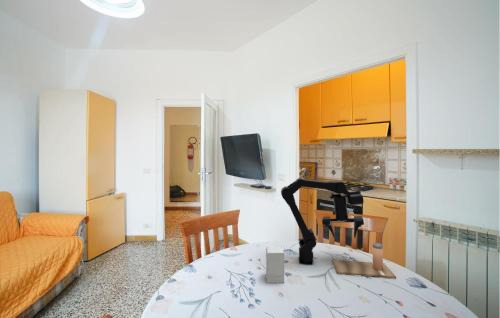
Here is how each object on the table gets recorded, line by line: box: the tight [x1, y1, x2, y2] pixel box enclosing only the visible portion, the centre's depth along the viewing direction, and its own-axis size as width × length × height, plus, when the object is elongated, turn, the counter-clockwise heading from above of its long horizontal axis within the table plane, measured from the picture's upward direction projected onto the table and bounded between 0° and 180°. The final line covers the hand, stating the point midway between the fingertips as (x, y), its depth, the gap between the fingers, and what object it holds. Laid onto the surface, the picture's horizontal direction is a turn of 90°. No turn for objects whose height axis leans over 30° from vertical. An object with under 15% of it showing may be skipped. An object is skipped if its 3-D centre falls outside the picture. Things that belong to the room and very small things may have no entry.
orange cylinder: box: [372, 242, 384, 271], centre depth 100 cm, size 4×4×11 cm
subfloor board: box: [331, 259, 397, 279], centre depth 102 cm, size 24×12×1 cm, turn 79°
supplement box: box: [265, 245, 285, 284], centre depth 95 cm, size 7×7×13 cm
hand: (344, 237), depth 108 cm, fingers open, 9 cm apart
